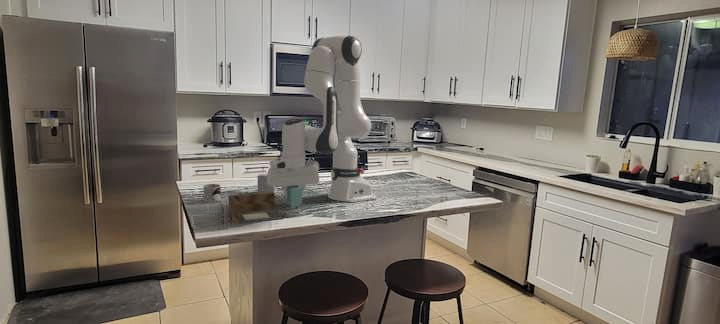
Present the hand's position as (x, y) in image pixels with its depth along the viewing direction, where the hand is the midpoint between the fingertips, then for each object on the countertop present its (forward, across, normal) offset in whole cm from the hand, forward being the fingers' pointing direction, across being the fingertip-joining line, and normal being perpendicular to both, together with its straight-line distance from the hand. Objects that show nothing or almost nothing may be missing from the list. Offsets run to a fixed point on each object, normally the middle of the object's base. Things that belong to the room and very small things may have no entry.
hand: (293, 196), depth 162 cm
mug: (+7, +26, -29) cm, 39 cm away
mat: (+7, +14, -1) cm, 15 cm away
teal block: (+3, 0, 0) cm, 3 cm away
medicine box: (+8, +2, -34) cm, 35 cm away
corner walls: (+7, +14, -2) cm, 16 cm away
